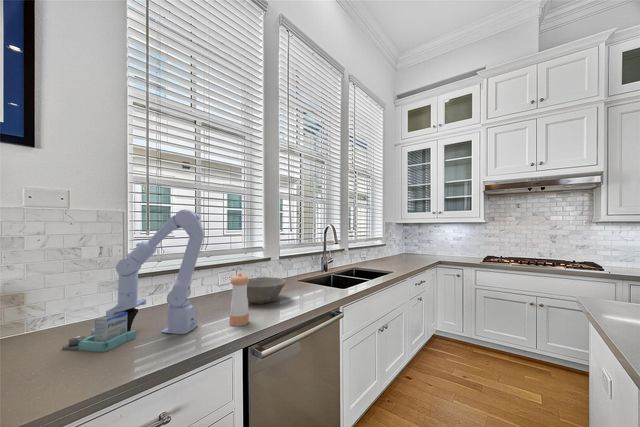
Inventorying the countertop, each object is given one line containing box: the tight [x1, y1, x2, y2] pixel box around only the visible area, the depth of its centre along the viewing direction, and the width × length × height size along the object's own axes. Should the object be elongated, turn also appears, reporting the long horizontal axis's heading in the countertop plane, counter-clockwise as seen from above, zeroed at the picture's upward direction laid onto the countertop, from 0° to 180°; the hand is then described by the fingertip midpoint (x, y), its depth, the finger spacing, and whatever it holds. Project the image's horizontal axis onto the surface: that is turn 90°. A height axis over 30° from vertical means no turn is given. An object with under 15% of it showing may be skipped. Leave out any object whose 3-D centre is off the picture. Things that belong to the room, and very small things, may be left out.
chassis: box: [62, 327, 137, 353], centre depth 88 cm, size 16×11×3 cm
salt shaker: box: [229, 273, 250, 327], centre depth 107 cm, size 7×7×19 cm
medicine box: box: [94, 311, 128, 342], centre depth 89 cm, size 8×4×9 cm, turn 170°
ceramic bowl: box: [247, 276, 287, 305], centre depth 135 cm, size 22×23×10 cm
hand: (126, 331), depth 95 cm, fingers closed
